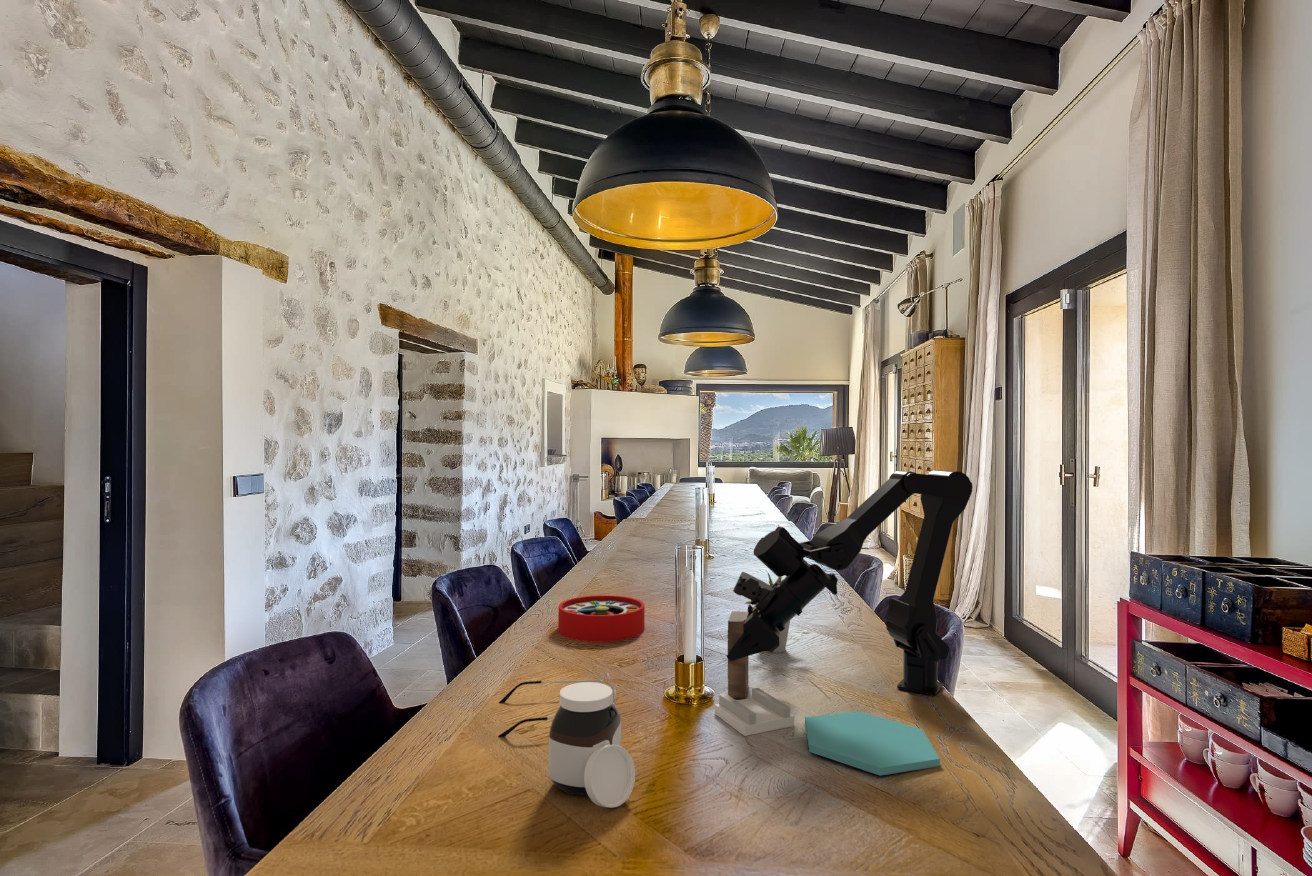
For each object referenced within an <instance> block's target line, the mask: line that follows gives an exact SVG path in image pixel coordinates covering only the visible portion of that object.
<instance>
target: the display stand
mask: <svg viewBox="0 0 1312 876" xmlns="http://www.w3.org/2000/svg"><path fill="white" fill-rule="evenodd" d="M714 715H716V716H717V717H718V718H719V719H721V720H722V721H724V722H725V723H726V724H728V725H729V726H730V727H732V728H733V729H734V730H736V731H737V732H738V733H740V734H741V735H742V736H744V737H747V736H752V735H756V734H760V733H761V734H762V733H767V732H771V731H776V730H781V729H782V730H783V729H786V728H792V727H795V716H794V715H793V714H792V713H791V707H790V706H789V705H787V704H786V703H784V702H782V701H781V700H779V699H777V698H775V697H774V696H772V695H771V694H769V693H767V692H766V691H764V690H763V689H761V688H759V687H756V688H751V697H750V698H746V699H738V700H736V698H732V697H730V696H729V695H728V693H725V692H724V693H720V694H719V695H718V703H715V704H714Z"/></svg>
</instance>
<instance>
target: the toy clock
mask: <svg viewBox="0 0 1312 876" xmlns="http://www.w3.org/2000/svg"><path fill="white" fill-rule="evenodd" d="M645 612H646V611H645V603H644V601H642V600H640V599H637V598H633V597H629V596H624V595H613V594H612V595H611V594H610V595H609V594H608V595H607V594H606V595H605V594H604V595H603V594H601V595H586V596H579V597H572V598H569V599H568V598H567V599H565V600H563V601H562V602H560V603H559V604H558V611H557V613H558V618H557V621H558V623H557V624H558V626H557V627H558V633H559V634H560V635H561V636H563V637H565V638H567V639H571V640H575V641H581V642H592V643H593V642H595V643H599V642H601V643H602V642H603V643H604V642H606V643H607V642H617V641H623V640H628V639H633V638H635V637H638V636H640V635H642V634H644V632H645V630H646V629H645V616H646V615H645V614H646V613H645Z"/></svg>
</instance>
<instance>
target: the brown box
mask: <svg viewBox="0 0 1312 876" xmlns="http://www.w3.org/2000/svg"><path fill="white" fill-rule="evenodd" d="M728 617H729V618H728V621H727V654H728V653H729V652H730V651H731V649H732V648H733V646H734V645H735V644H736V642H737V641H738V640H739V638H740V637H741V636H742V634H743V623H744V620H746V619H747V618H748V611H736V610H735V611H733V610H731V613H730V615H729V616H728ZM748 688H749V656H746V657H743V658H740V659H737V660H734V661H730V660H729V659H728V658H727V695H729V696H730V697H732V698H733V699H741V700H743V699H747V693H748Z"/></svg>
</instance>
